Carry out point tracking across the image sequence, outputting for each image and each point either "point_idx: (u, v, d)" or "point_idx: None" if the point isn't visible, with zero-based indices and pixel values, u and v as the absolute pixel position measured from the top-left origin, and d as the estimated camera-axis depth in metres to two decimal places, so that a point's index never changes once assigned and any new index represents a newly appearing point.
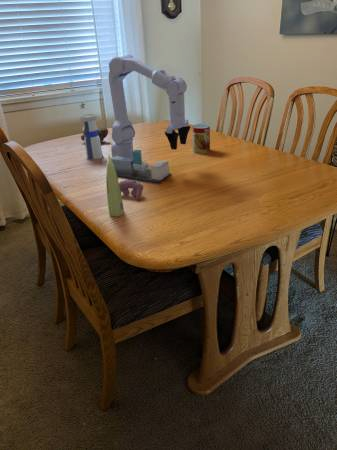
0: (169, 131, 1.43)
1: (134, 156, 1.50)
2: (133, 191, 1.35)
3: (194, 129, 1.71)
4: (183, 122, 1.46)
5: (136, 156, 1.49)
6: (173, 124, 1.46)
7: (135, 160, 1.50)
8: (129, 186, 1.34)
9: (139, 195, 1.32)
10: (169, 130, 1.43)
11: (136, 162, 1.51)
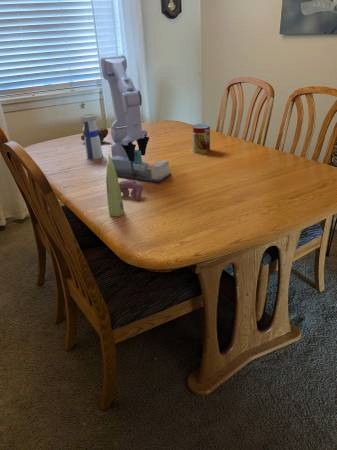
0: (125, 143, 1.42)
1: None
2: (133, 191, 1.35)
3: (194, 129, 1.71)
4: (140, 134, 1.45)
5: (136, 156, 1.49)
6: (130, 136, 1.45)
7: (135, 160, 1.50)
8: (129, 186, 1.34)
9: (139, 195, 1.32)
10: (125, 142, 1.41)
11: (136, 162, 1.51)
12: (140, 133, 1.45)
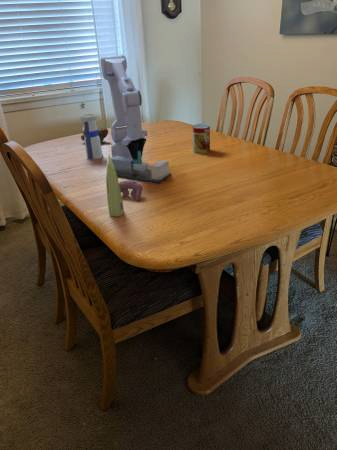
0: (125, 143, 1.42)
1: None
2: (133, 192, 1.35)
3: (194, 129, 1.71)
4: (140, 134, 1.45)
5: None
6: (130, 136, 1.45)
7: (135, 160, 1.50)
8: (129, 187, 1.34)
9: (139, 196, 1.32)
10: (125, 142, 1.41)
11: (136, 162, 1.51)
12: (140, 133, 1.45)
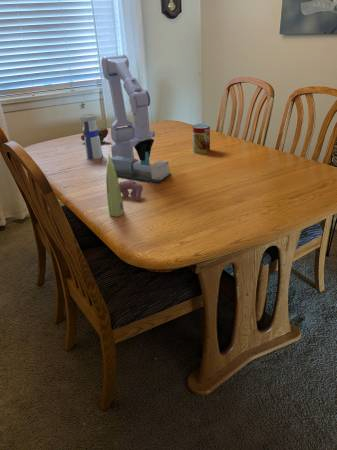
0: (133, 144, 1.40)
1: None
2: (132, 192, 1.34)
3: (194, 129, 1.71)
4: (148, 134, 1.43)
5: None
6: (137, 136, 1.43)
7: (142, 161, 1.49)
8: (128, 187, 1.33)
9: (139, 196, 1.32)
10: (132, 143, 1.40)
11: (143, 163, 1.49)
12: (148, 134, 1.43)
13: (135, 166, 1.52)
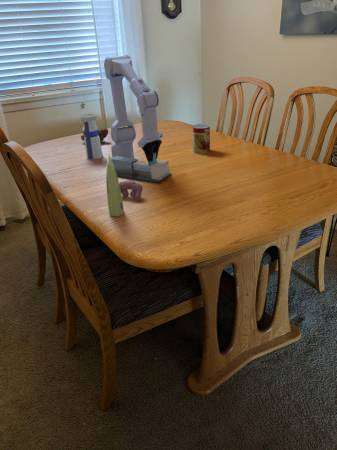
0: (141, 145, 1.38)
1: None
2: (132, 192, 1.34)
3: (194, 129, 1.71)
4: (156, 135, 1.41)
5: None
6: (145, 137, 1.41)
7: (150, 162, 1.47)
8: (128, 187, 1.33)
9: (138, 196, 1.32)
10: (140, 144, 1.38)
11: (151, 164, 1.47)
12: (156, 135, 1.41)
13: (142, 168, 1.50)
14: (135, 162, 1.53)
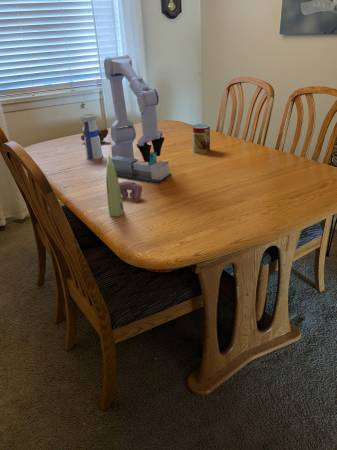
0: (140, 143, 1.38)
1: None
2: (132, 193, 1.34)
3: (194, 129, 1.71)
4: (156, 134, 1.41)
5: (151, 158, 1.46)
6: (145, 136, 1.41)
7: (150, 162, 1.47)
8: (128, 188, 1.33)
9: (138, 197, 1.31)
10: (140, 142, 1.38)
11: (151, 164, 1.47)
12: (156, 133, 1.41)
13: (142, 168, 1.50)
14: (135, 162, 1.53)
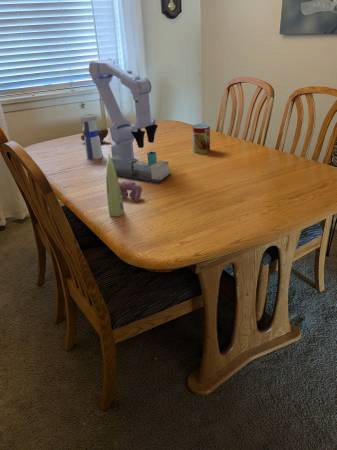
0: (134, 129, 1.46)
1: (149, 158, 1.46)
2: (132, 193, 1.34)
3: (194, 129, 1.71)
4: (149, 121, 1.50)
5: (151, 158, 1.46)
6: (139, 123, 1.49)
7: (150, 162, 1.47)
8: (128, 188, 1.33)
9: (138, 197, 1.31)
10: (134, 128, 1.46)
11: (151, 164, 1.47)
12: (149, 120, 1.50)
13: (142, 168, 1.50)
14: (135, 162, 1.53)
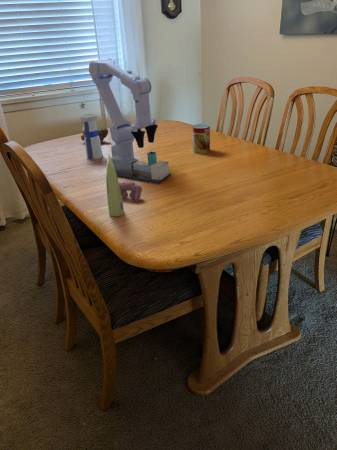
0: (134, 129, 1.46)
1: (149, 158, 1.46)
2: (132, 193, 1.33)
3: (194, 129, 1.71)
4: (149, 121, 1.50)
5: (151, 158, 1.46)
6: (139, 123, 1.49)
7: (150, 162, 1.47)
8: (128, 188, 1.32)
9: (138, 197, 1.31)
10: (134, 128, 1.46)
11: (151, 164, 1.47)
12: (149, 120, 1.50)
13: (142, 168, 1.50)
14: (135, 162, 1.53)
